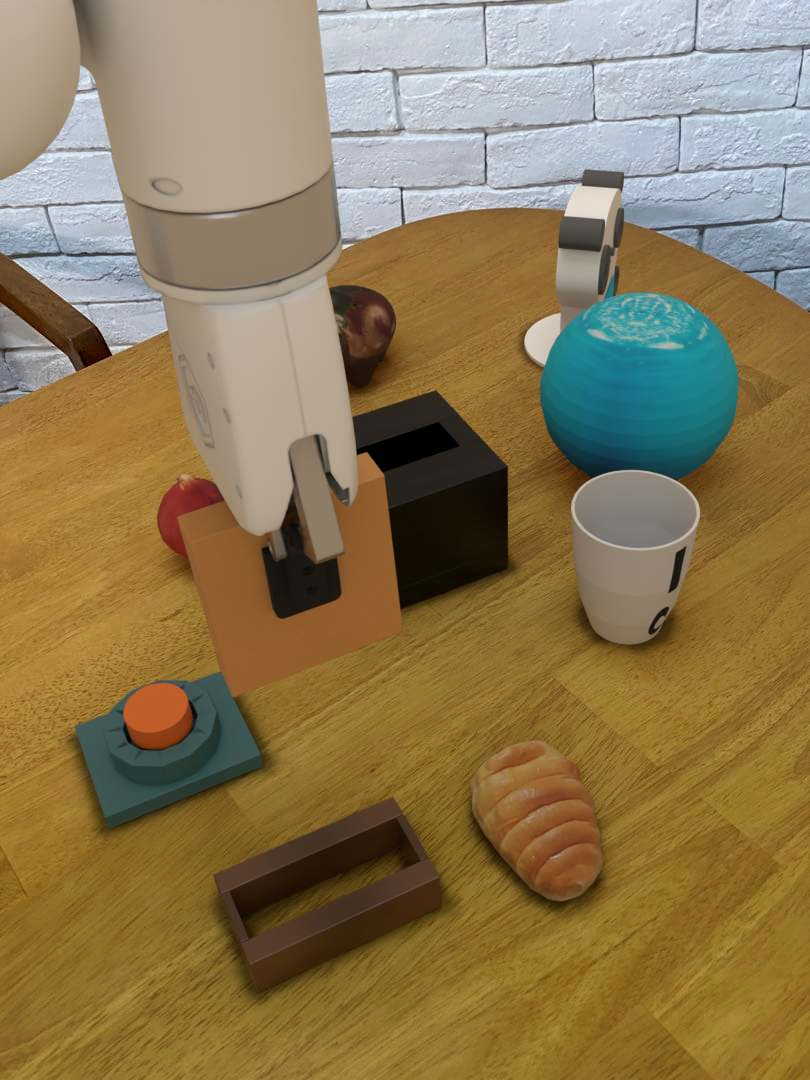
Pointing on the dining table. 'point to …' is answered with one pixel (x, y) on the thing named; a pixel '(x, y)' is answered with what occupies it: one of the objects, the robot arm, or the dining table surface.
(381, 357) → the brown mottled ceramic figure
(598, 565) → the cup
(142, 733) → the button
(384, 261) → the dining table surface
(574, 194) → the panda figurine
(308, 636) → the toast
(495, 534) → the toaster
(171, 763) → the block
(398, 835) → the brown rectangular frame
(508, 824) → the pastry
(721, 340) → the decorative orb
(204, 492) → the onion
